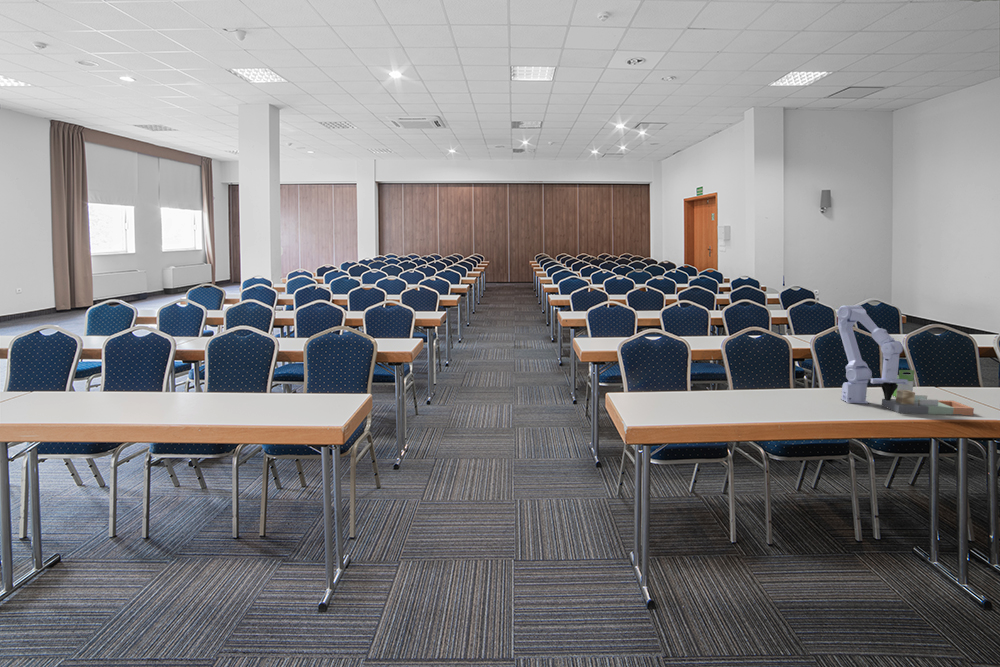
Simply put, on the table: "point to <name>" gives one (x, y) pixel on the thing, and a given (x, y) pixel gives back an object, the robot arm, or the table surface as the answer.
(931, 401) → the corridor walls
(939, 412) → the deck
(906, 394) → the maple block
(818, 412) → the table surface
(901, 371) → the ink box
